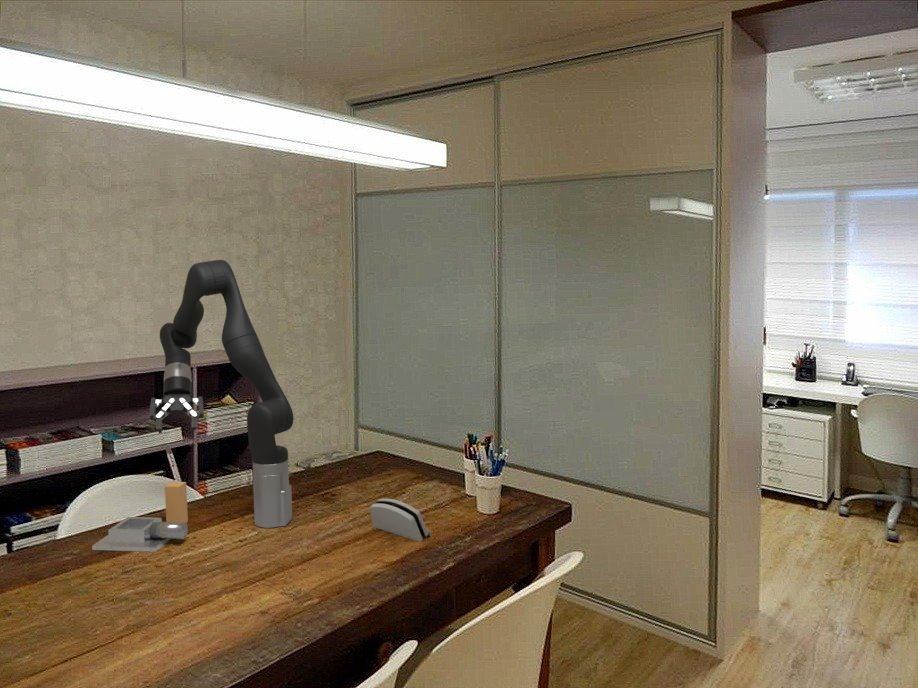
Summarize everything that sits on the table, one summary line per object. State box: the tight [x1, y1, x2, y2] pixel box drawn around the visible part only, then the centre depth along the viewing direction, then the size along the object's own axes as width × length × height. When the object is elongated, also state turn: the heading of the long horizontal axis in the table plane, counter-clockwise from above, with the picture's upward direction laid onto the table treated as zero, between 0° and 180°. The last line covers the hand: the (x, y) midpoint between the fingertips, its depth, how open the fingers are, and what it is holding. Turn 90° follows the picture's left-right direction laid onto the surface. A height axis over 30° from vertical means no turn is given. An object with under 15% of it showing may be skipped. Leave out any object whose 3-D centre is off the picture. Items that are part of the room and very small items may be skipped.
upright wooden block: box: [164, 481, 189, 524], centre depth 190 cm, size 4×4×11 cm
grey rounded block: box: [369, 498, 432, 543], centre depth 184 cm, size 17×5×10 cm, turn 52°
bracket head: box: [91, 516, 189, 553], centre depth 179 cm, size 20×12×5 cm, turn 86°
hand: (176, 431), depth 198 cm, fingers open, 8 cm apart
